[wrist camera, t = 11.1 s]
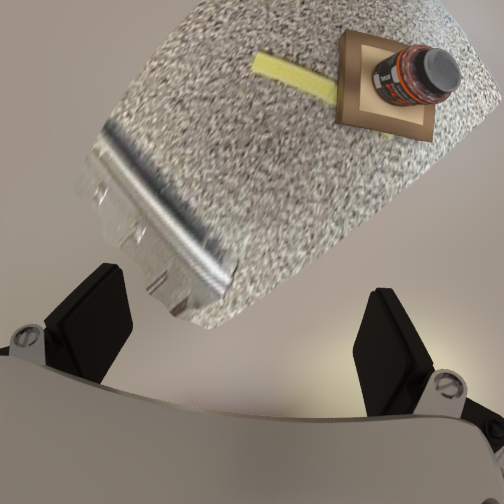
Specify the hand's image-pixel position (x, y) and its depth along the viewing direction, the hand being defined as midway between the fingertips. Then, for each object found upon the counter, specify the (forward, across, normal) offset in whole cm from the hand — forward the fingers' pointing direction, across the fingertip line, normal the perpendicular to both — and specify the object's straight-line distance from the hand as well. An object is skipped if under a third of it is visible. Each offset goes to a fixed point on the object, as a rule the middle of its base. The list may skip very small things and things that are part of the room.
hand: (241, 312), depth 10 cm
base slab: (+28, -14, -14) cm, 35 cm away
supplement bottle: (+24, -14, -14) cm, 31 cm away
